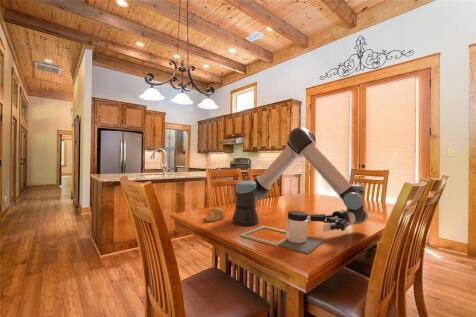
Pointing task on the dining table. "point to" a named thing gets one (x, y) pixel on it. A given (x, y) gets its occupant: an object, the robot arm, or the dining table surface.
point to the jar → (296, 227)
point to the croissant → (215, 214)
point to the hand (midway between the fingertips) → (311, 224)
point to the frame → (262, 239)
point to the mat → (303, 245)
